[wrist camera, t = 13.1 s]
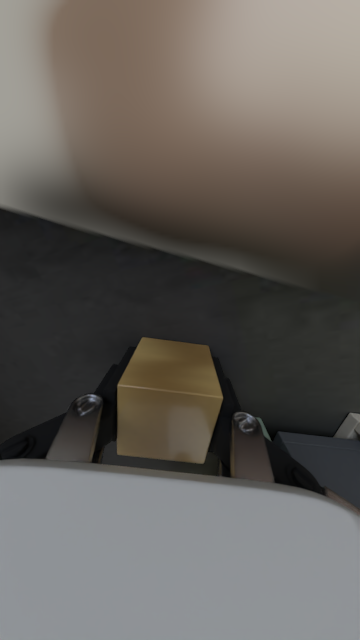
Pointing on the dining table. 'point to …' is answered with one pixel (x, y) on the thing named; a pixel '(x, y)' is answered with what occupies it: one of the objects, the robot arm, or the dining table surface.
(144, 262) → the dining table surface
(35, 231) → the dining table surface
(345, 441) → the green drawer
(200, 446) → the block
